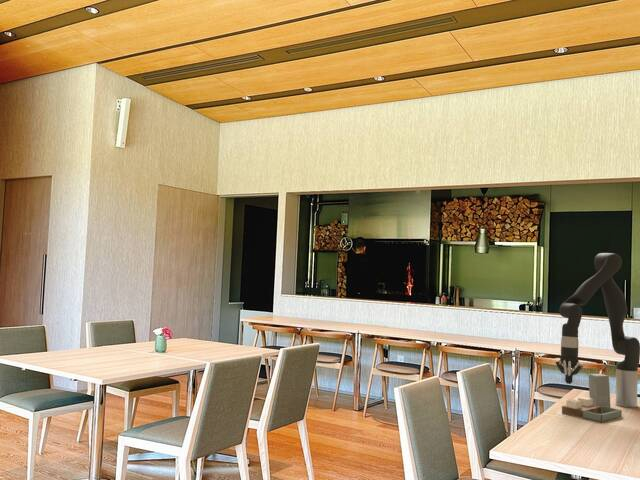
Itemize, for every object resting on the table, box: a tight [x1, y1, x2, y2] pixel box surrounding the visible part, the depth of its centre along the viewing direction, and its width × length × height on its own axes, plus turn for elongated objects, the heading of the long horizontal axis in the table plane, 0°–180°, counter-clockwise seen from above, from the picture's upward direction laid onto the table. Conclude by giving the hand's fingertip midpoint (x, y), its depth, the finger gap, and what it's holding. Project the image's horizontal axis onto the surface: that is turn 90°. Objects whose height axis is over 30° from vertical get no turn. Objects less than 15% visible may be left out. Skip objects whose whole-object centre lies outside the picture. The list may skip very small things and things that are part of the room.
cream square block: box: [566, 398, 581, 409], centre depth 266 cm, size 4×4×3 cm
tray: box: [582, 406, 623, 423], centre depth 261 cm, size 18×8×3 cm, turn 129°
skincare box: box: [588, 373, 612, 411], centre depth 281 cm, size 8×7×16 cm
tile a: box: [577, 396, 593, 406], centre depth 273 cm, size 4×4×3 cm
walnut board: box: [561, 404, 602, 419], centre depth 269 cm, size 16×10×3 cm, turn 129°
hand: (568, 383), depth 279 cm, fingers closed
